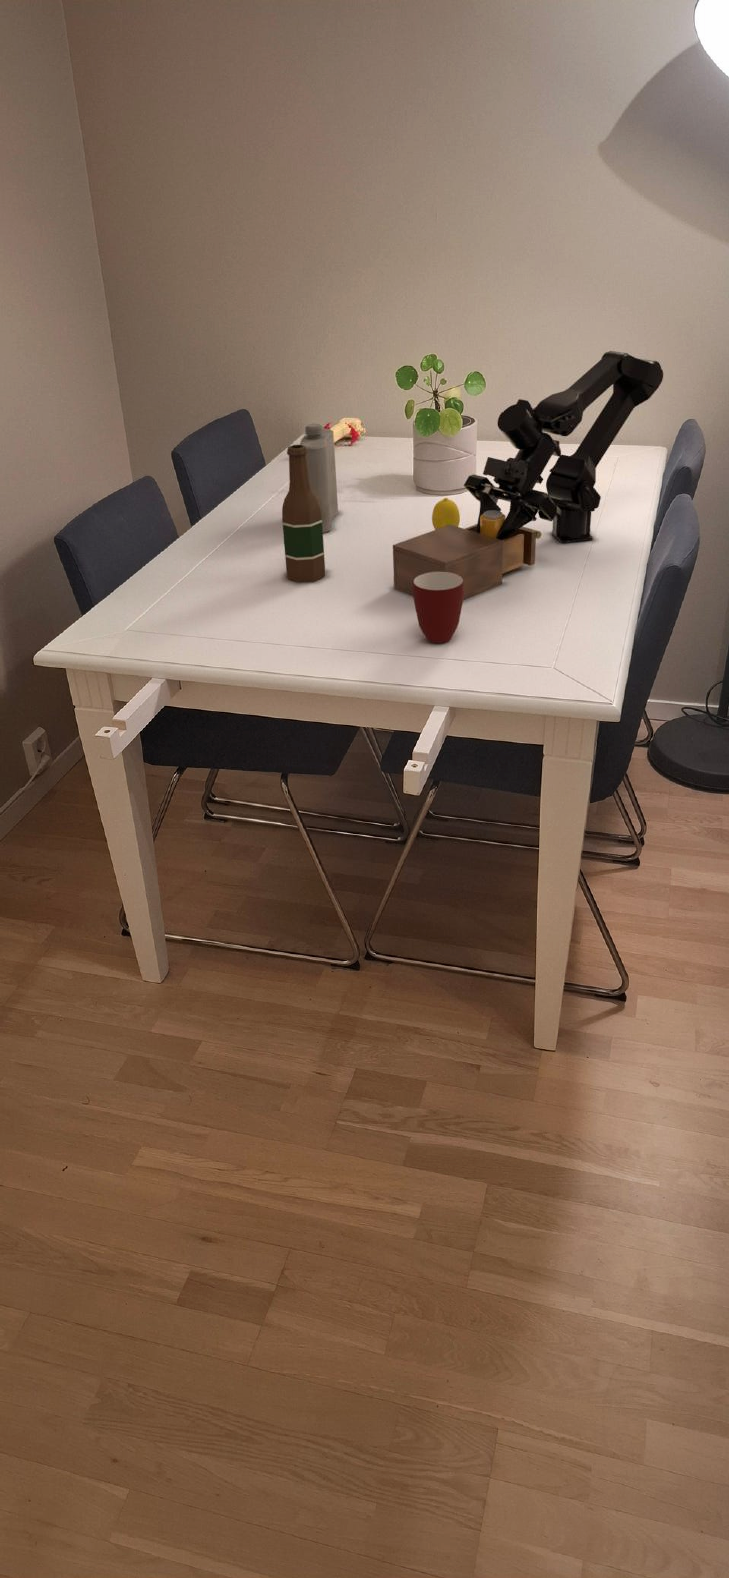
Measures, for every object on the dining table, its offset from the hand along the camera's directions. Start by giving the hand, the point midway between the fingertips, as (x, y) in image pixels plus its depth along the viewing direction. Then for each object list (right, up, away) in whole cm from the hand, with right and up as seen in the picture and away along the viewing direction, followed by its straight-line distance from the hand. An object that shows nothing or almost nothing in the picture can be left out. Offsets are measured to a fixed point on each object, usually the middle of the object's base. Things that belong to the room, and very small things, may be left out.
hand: (487, 537), depth 200 cm
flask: (-32, +10, +32) cm, 46 cm away
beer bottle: (-33, -6, +6) cm, 34 cm away
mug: (-10, -21, -20) cm, 31 cm away
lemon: (-6, +4, +20) cm, 21 cm away
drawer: (+2, -4, +4) cm, 6 cm away
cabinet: (-7, -9, -2) cm, 12 cm away
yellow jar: (+1, -2, +2) cm, 3 cm away
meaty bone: (-30, +42, +82) cm, 96 cm away
